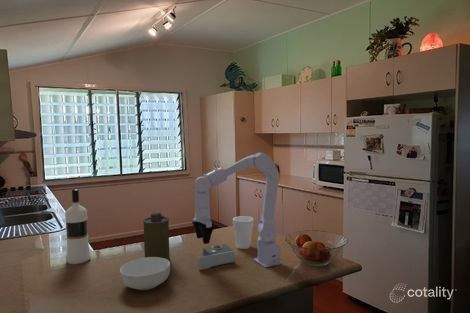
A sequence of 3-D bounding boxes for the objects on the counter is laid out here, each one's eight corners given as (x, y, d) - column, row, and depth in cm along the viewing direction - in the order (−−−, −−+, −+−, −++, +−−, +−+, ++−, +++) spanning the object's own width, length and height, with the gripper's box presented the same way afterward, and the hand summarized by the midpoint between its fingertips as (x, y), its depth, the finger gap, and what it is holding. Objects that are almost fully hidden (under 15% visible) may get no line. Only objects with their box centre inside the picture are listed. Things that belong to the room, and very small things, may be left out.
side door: (234, 261, 136) (234, 251, 136) (198, 269, 129) (198, 257, 129) (233, 260, 137) (233, 250, 137) (197, 268, 130) (197, 257, 130)
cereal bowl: (151, 271, 129) (150, 253, 129) (180, 283, 119) (180, 263, 118) (110, 287, 116) (109, 267, 116) (139, 302, 106) (138, 280, 105)
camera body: (233, 261, 137) (233, 248, 137) (210, 266, 133) (210, 252, 132) (225, 255, 145) (224, 242, 144) (203, 259, 140) (202, 246, 140)
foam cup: (253, 250, 150) (253, 221, 149) (232, 250, 151) (232, 221, 150) (252, 243, 160) (252, 216, 159) (233, 243, 160) (233, 216, 159)
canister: (164, 266, 133) (162, 216, 132) (139, 265, 135) (137, 215, 134) (174, 256, 144) (173, 210, 142) (151, 255, 146) (150, 209, 144)
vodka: (63, 266, 135) (59, 191, 133) (69, 257, 144) (65, 188, 142) (88, 263, 137) (85, 190, 135) (92, 255, 146) (89, 186, 144)
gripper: (187, 204, 139) (187, 237, 140) (198, 212, 126) (199, 247, 127) (203, 202, 142) (203, 234, 143) (216, 210, 129) (217, 244, 130)
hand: (203, 240), depth 135 cm, fingers open, 7 cm apart
